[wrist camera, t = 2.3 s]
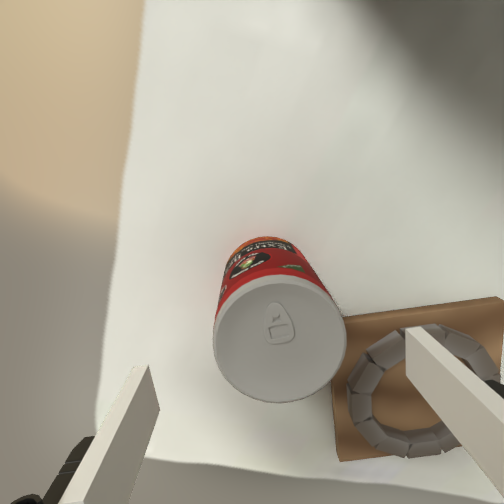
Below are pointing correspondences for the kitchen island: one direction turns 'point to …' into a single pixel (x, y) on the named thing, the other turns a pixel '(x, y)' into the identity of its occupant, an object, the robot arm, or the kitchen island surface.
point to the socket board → (397, 383)
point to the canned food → (276, 324)
